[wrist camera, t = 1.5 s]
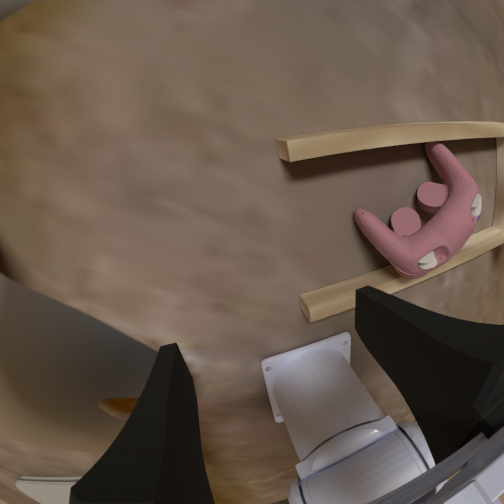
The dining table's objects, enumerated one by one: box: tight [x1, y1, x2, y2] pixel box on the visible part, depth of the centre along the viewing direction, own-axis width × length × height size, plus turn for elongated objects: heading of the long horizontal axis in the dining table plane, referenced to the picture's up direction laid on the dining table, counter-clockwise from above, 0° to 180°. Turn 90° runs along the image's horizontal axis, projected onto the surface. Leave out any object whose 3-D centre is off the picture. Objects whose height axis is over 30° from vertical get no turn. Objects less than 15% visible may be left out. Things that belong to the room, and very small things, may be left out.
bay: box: [276, 122, 504, 322], centre depth 20 cm, size 12×25×4 cm, turn 101°
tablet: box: [16, 477, 82, 504], centre depth 30 cm, size 16×26×2 cm, turn 107°
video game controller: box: [354, 141, 482, 279], centre depth 19 cm, size 10×5×7 cm, turn 131°
